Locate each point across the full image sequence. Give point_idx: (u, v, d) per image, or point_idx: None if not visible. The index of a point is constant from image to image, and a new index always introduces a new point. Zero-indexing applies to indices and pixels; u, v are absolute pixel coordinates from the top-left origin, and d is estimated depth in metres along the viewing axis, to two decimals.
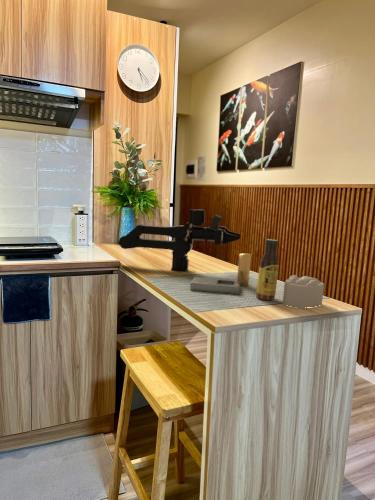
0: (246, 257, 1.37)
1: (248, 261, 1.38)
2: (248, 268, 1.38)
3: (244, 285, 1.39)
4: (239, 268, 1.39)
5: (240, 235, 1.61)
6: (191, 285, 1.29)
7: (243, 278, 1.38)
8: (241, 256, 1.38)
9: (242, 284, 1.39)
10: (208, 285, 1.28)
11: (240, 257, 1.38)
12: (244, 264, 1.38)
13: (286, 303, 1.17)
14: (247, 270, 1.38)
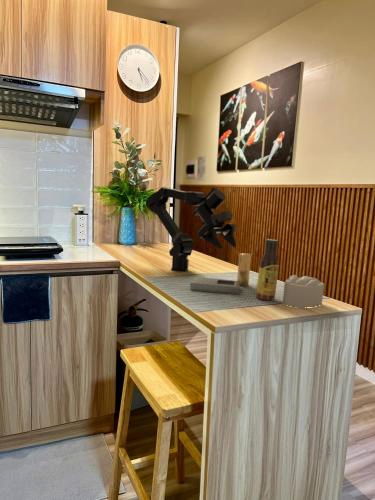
0: (246, 257, 1.37)
1: (248, 261, 1.38)
2: (248, 268, 1.38)
3: (244, 285, 1.39)
4: (239, 268, 1.39)
5: (235, 246, 1.47)
6: (191, 285, 1.29)
7: (243, 278, 1.38)
8: (241, 256, 1.38)
9: (242, 284, 1.39)
10: (208, 285, 1.28)
11: (240, 257, 1.38)
12: (244, 264, 1.38)
13: (286, 303, 1.17)
14: (247, 270, 1.38)
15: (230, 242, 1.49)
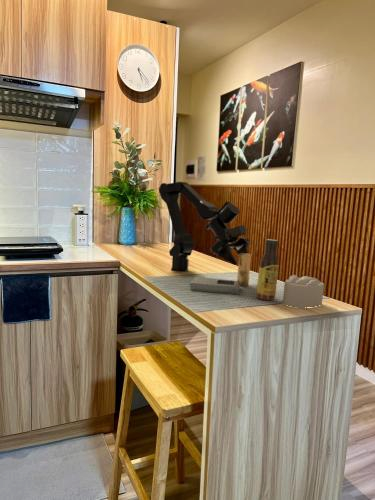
0: (246, 257, 1.37)
1: (248, 261, 1.38)
2: (248, 268, 1.38)
3: (244, 285, 1.39)
4: (239, 268, 1.39)
5: None
6: (191, 285, 1.29)
7: (243, 278, 1.38)
8: (241, 256, 1.38)
9: (242, 284, 1.39)
10: (208, 285, 1.28)
11: (240, 257, 1.38)
12: (244, 264, 1.38)
13: (286, 303, 1.17)
14: (247, 270, 1.38)
15: None
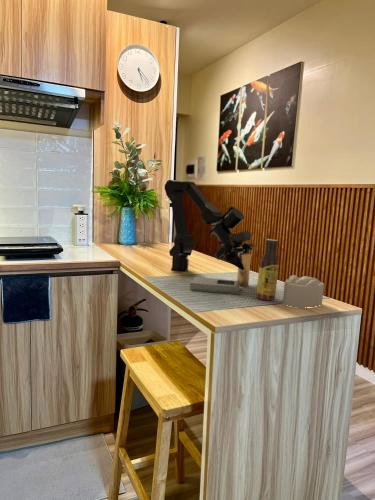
0: (246, 257, 1.37)
1: (248, 261, 1.38)
2: (248, 268, 1.38)
3: (244, 285, 1.39)
4: None
5: (250, 267, 1.41)
6: (191, 285, 1.29)
7: (243, 278, 1.38)
8: (241, 256, 1.38)
9: (242, 284, 1.39)
10: (208, 285, 1.28)
11: (240, 257, 1.38)
12: (244, 264, 1.38)
13: (286, 303, 1.17)
14: (247, 270, 1.38)
15: None
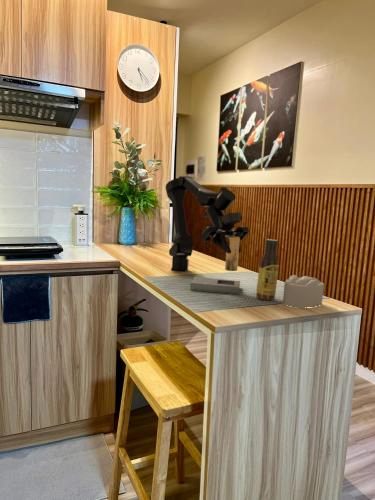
0: (233, 240, 1.30)
1: (235, 244, 1.30)
2: (235, 252, 1.31)
3: (231, 269, 1.31)
4: None
5: (239, 252, 1.33)
6: (191, 285, 1.29)
7: (230, 262, 1.31)
8: (228, 239, 1.31)
9: (229, 268, 1.31)
10: (208, 285, 1.28)
11: (227, 240, 1.31)
12: (231, 247, 1.30)
13: (286, 303, 1.17)
14: (234, 254, 1.31)
15: None
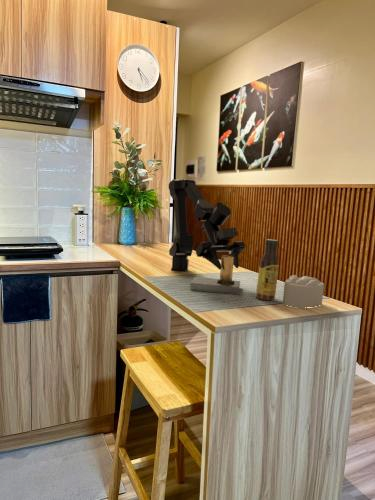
0: (226, 260, 1.29)
1: (229, 264, 1.30)
2: (229, 271, 1.30)
3: None
4: (220, 271, 1.32)
5: (237, 267, 1.32)
6: (191, 285, 1.29)
7: (223, 282, 1.31)
8: (222, 258, 1.31)
9: None
10: (208, 285, 1.28)
11: (221, 259, 1.31)
12: (224, 267, 1.30)
13: (286, 303, 1.17)
14: (228, 273, 1.30)
15: (233, 262, 1.35)
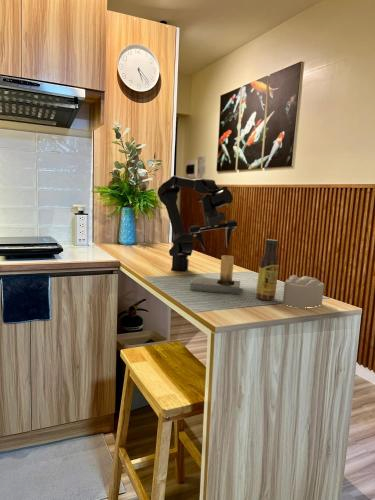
0: (226, 259, 1.29)
1: (229, 264, 1.30)
2: (229, 271, 1.30)
3: None
4: (220, 271, 1.32)
5: None
6: (191, 285, 1.29)
7: (224, 282, 1.31)
8: (222, 258, 1.31)
9: None
10: (208, 285, 1.28)
11: (221, 259, 1.31)
12: (224, 267, 1.30)
13: (286, 303, 1.17)
14: (228, 273, 1.30)
15: (226, 240, 1.47)
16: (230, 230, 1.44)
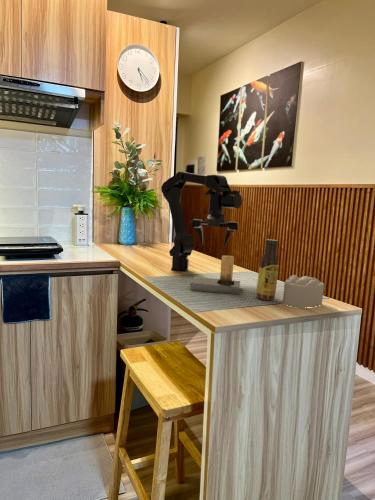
0: (226, 260, 1.29)
1: (229, 264, 1.30)
2: (229, 271, 1.30)
3: None
4: None
5: (224, 246, 1.49)
6: (191, 285, 1.29)
7: (224, 282, 1.31)
8: (222, 258, 1.30)
9: None
10: (208, 285, 1.28)
11: (221, 259, 1.31)
12: (224, 267, 1.30)
13: (286, 303, 1.17)
14: (228, 273, 1.30)
15: None
16: (229, 232, 1.46)
